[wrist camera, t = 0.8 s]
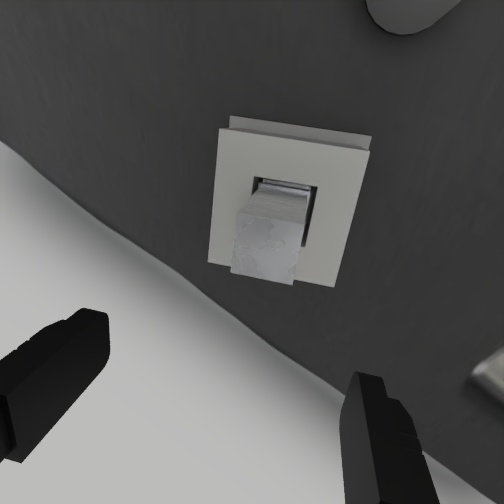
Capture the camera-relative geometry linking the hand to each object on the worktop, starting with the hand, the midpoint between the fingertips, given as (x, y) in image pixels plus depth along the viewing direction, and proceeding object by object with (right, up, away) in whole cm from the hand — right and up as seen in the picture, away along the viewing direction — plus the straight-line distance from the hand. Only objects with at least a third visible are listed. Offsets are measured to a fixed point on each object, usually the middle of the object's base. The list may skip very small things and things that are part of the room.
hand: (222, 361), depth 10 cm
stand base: (+5, +10, +25) cm, 27 cm away
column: (+5, +10, +24) cm, 26 cm away
